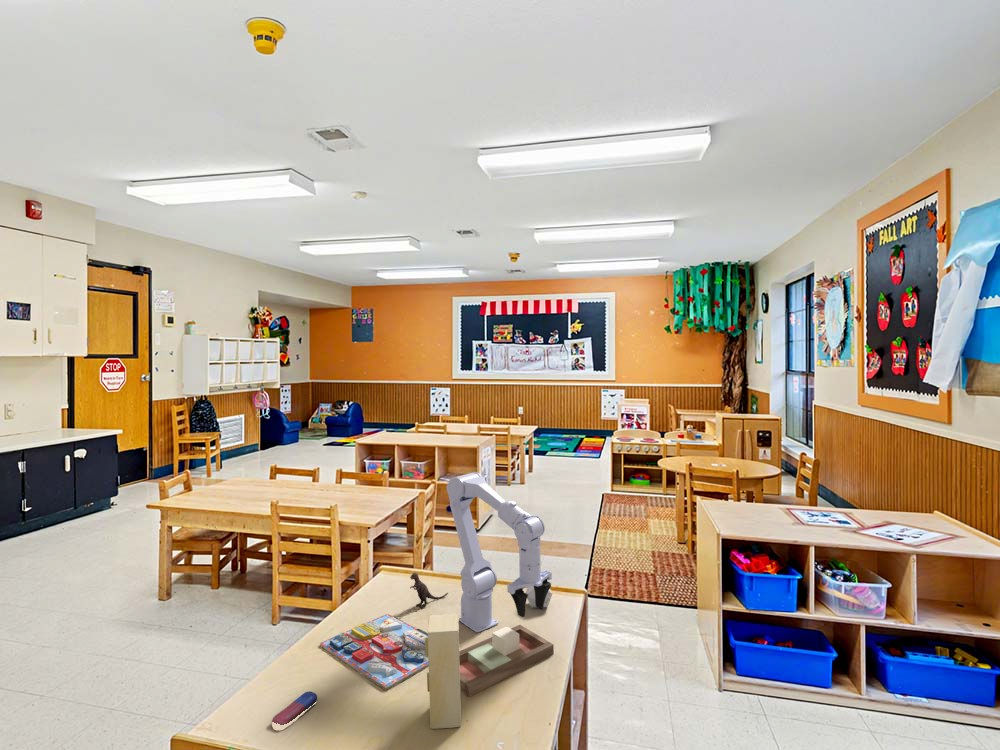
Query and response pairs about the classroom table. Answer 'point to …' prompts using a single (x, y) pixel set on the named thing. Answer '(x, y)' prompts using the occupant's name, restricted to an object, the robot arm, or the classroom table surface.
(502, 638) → the block
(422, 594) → the dinosaur model
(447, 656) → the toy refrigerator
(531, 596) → the die
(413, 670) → the puzzle board
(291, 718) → the eraser
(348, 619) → the classroom table surface
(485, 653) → the tray
